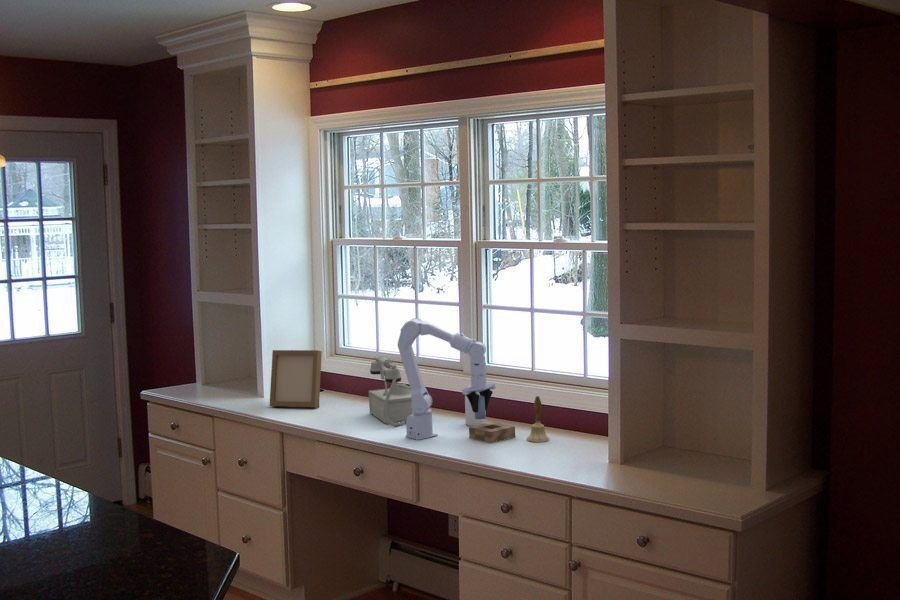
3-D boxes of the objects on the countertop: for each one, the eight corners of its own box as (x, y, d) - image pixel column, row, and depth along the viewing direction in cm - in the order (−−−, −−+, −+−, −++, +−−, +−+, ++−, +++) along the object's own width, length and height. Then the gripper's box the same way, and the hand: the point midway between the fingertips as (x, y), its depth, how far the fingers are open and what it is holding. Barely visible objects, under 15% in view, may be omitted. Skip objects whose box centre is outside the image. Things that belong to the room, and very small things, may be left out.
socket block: (490, 443, 353) (490, 432, 352) (469, 437, 362) (468, 427, 361) (515, 437, 360) (514, 426, 360) (493, 432, 369) (493, 421, 369)
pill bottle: (489, 425, 381) (488, 387, 380) (470, 427, 378) (469, 389, 377) (481, 421, 389) (479, 384, 387) (462, 423, 386) (461, 386, 384)
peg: (479, 419, 360) (478, 398, 359) (472, 418, 363) (471, 397, 362) (487, 417, 362) (486, 396, 362) (480, 416, 366) (479, 395, 365)
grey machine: (434, 422, 389) (432, 360, 387) (385, 429, 382) (382, 365, 380) (408, 408, 419) (406, 350, 417) (362, 413, 412) (359, 355, 410)
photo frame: (314, 409, 424) (312, 352, 422) (269, 408, 431) (266, 351, 429) (328, 402, 438) (326, 347, 436) (284, 402, 445) (282, 347, 443)
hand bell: (551, 437, 358) (550, 394, 356) (547, 442, 350) (546, 398, 348) (529, 436, 360) (527, 394, 358) (524, 442, 352) (523, 398, 351)
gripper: (470, 378, 354) (472, 415, 355) (500, 373, 363) (501, 409, 364) (457, 376, 359) (459, 413, 360) (487, 371, 368) (489, 406, 369)
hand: (479, 410), depth 362 cm, fingers closed on peg, 4 cm apart
